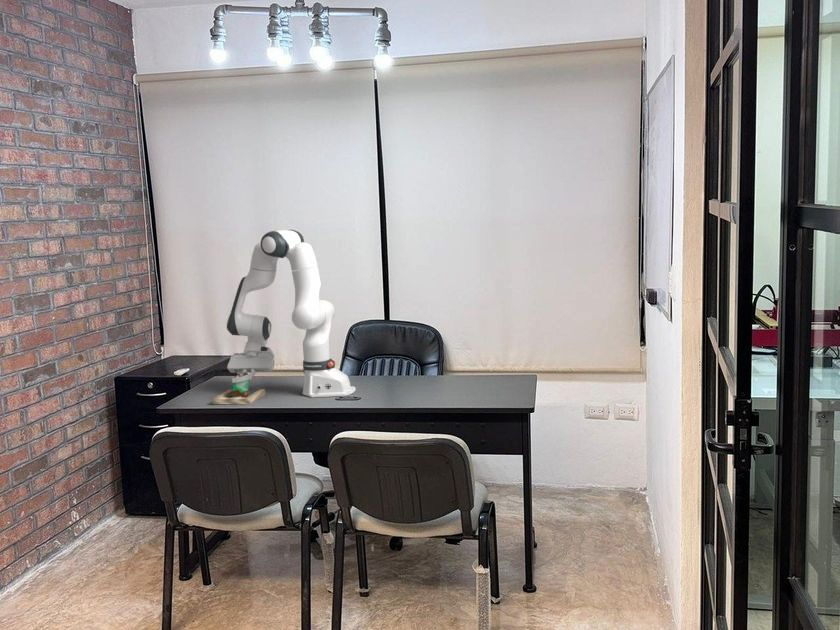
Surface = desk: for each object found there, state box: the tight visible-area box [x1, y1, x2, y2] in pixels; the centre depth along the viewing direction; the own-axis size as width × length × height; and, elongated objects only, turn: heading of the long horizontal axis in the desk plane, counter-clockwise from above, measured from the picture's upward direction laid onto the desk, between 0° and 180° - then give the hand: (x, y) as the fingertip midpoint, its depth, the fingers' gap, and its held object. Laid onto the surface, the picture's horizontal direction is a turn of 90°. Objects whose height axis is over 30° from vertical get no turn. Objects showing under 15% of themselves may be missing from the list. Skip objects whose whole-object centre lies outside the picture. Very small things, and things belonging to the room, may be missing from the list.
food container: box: [231, 372, 250, 398], centre depth 343 cm, size 12×6×10 cm, turn 2°
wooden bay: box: [211, 388, 266, 405], centre depth 340 cm, size 16×17×2 cm
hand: (247, 379), depth 348 cm, fingers closed
